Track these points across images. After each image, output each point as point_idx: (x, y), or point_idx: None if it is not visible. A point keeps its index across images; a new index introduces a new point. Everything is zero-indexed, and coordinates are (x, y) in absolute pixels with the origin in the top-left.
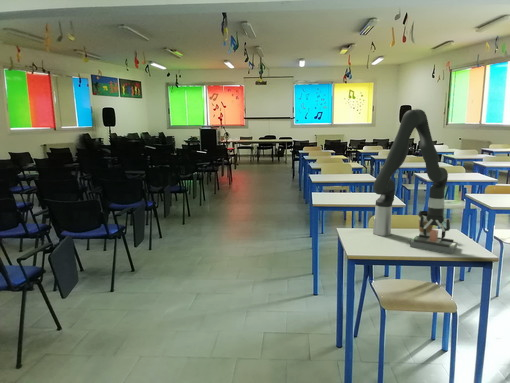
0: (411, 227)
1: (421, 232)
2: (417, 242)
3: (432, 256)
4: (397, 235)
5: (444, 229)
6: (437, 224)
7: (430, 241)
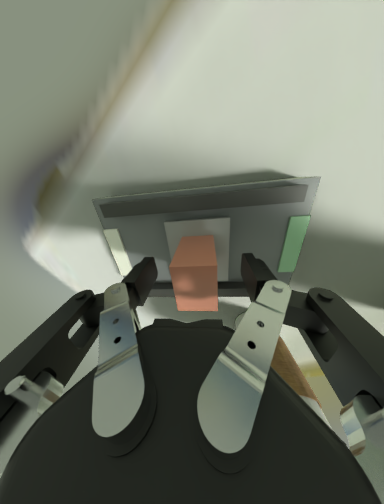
0: (301, 371)
1: None
2: (273, 183)
3: (150, 73)
4: (356, 300)
5: (104, 296)
6: (148, 336)
7: (204, 222)
